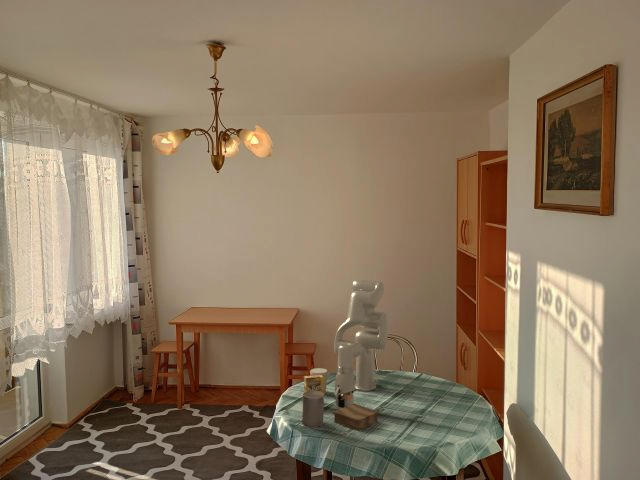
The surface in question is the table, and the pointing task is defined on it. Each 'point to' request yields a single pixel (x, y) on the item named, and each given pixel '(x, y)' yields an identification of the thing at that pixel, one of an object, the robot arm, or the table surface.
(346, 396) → the cover
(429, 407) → the table surface
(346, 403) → the housing base
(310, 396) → the pillar candle
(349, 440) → the table surface
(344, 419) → the walnut stand
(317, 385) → the candy box
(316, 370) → the coffee cup
